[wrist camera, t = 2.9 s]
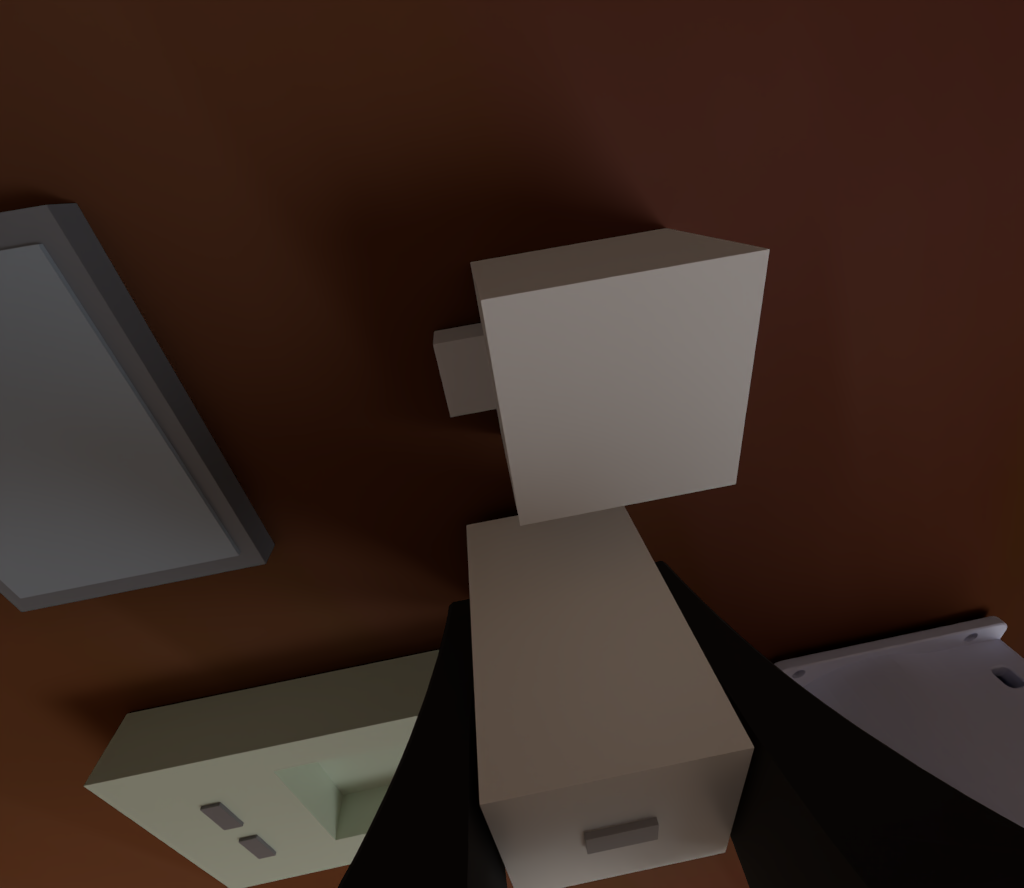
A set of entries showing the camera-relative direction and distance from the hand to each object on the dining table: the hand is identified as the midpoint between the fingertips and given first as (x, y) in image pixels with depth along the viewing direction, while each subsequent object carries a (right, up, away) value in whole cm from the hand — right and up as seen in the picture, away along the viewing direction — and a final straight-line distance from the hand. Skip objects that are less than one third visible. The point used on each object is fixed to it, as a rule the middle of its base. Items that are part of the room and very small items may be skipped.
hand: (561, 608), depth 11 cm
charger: (0, +1, +1) cm, 2 cm away
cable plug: (0, +6, -1) cm, 7 cm away
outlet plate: (-7, -7, +6) cm, 11 cm away
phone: (-11, +5, -1) cm, 12 cm away
